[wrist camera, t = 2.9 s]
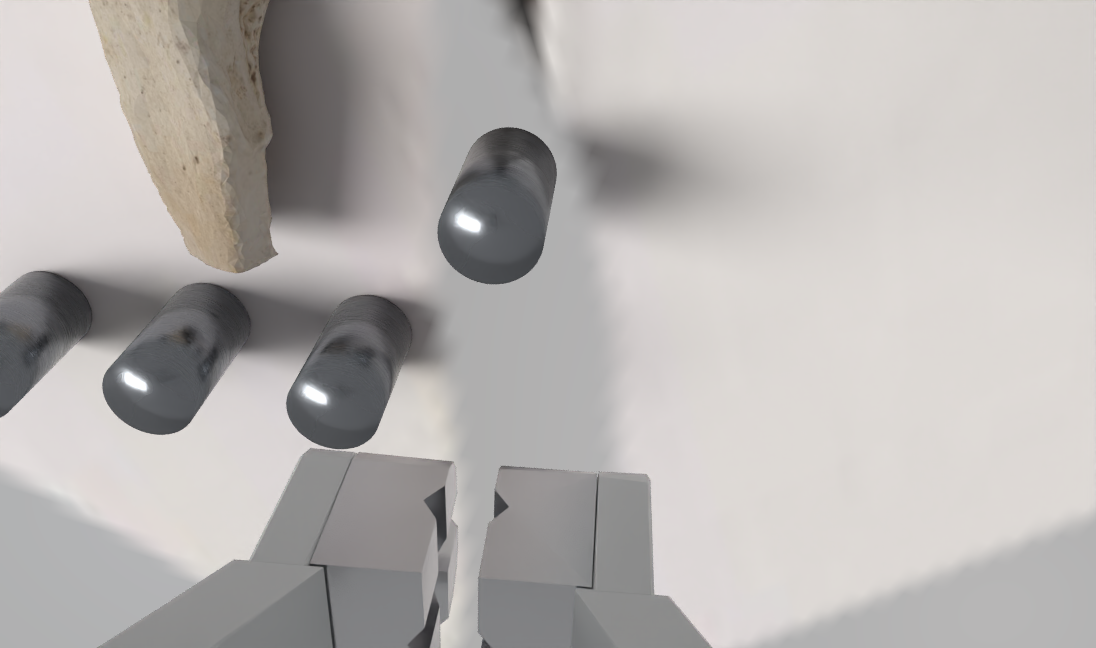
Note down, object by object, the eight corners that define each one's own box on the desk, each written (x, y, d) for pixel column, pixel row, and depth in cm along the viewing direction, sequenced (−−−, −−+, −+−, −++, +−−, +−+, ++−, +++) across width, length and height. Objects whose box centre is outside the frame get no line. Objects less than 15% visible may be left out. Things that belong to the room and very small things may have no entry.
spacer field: (22, 339, 35) (-63, 416, 31) (-236, -541, 22) (-443, -619, 18) (546, 379, 34) (534, 465, 30) (588, -516, 21) (578, -591, 17)
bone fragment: (73, -244, 25) (-29, -247, 21) (304, -218, 25) (246, -216, 21) (140, 210, 32) (72, 272, 28) (321, 230, 32) (279, 295, 28)
